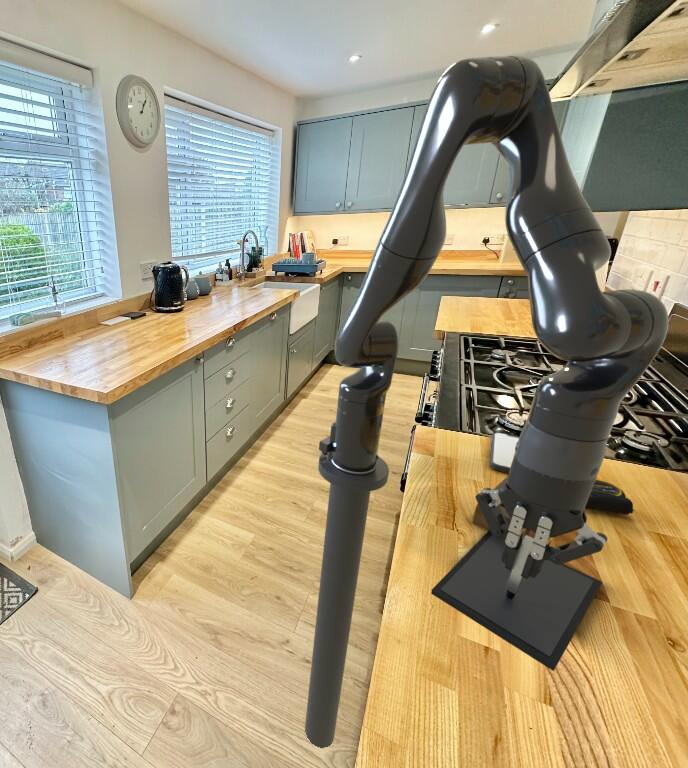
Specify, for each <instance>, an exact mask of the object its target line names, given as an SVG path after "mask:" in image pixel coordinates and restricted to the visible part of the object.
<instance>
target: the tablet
mask: <svg viewBox="0 0 688 768" xmlns="http://www.w3.org/2000/svg"><path fill="white" fill-rule="evenodd" d="M505 545H506V543H505V541H504V540H503V539H502V538H501V537H500V536H499V537H497V536H494V535H493V534H492V533H491V531H490V530H487V531H486V533H485V534H484V535H483V536H481V538H480V539H478V541H477V542H476V543H475V544H474V545H473V546H472V547H471V548H470V549H469V550H468V551H467V552H466V553H465V555H463V556H462V558H460V559H459V561H457V563H456V564H455V565H454V566H452V568H451V569H450V570H449V571H448V572H447V573H446V574H445V575H444V576H443V577H441V579H439V581H438V582H437V583H436V584H435V585H434V586H433V588H431V592H430V594H431V595H432V596H434V597H436V598H437V599H439V600H441V601H442V602H444V603H445V604H446V605H448V606H450V607H451V608H453V609H454V610H456V611H458V612H460V614H462V615H464V616H466V617H467V618H469V619H470V620H471V621H474V622H475V623H477V624H478V625H480V626H481V627H483V628H485V629H486V630H488V631H489V632H491V633H493V634H494V635H495V636H497V637H499V638H500V639H502V640H503V641H505V642H507V643H508V644H510V645H511V646H513V647H514V648H516V649H518V650H519V651H521V652H522V653H524V654H525V655H527V656H529V657H530V658H532V659H533V660H535V661H537V662H538V663H540V664H542V665H543V666H544V667H546V668H548V669H549V670H551V671H552V672H554V671H555V670H556V668H557V667H558V664H559V663H560V661H561V659H562V657H563V655H564V654H565V652H566V650H567V648H568V646H569V645H570V643H571V641H572V639H573V638H574V635H575V634H576V632H577V630H578V629H579V627H580V625H581V623H582V622H583V620H584V618H585V617H586V614H587V612H588V610H589V609H590V607H591V605H592V603H593V602H594V599H595V598H596V597H597V594H598V593H599V591H600V589H601V587H602V585H603V581H601V580H599V579H597V578H595V577H593V576H591V575H589V574H586V573H584V572H582V571H580V570H578V569H576V568H575V567H571V566H569V565H568V564H566V563H563V564H560V565H557V564H554V563H552V562H551V561H549V560H544V562H543V565H542V567H541V570H540V572H539V573H538V575H537V576H536V577H534V578H533V577H531V576H530V577H529V578H528V579H526V578H523V581H522V583H521V586H520V589H519V591H518V592H517V594H515V597H514V598H513V599H510V598H508V597H507V596H506V593H507V590H506V586H507V583H508V580H509V577H510V575H511V572H512V571H510V570H508V569H506V568H505V565H506V564H505V563H503V562H502V559H501V558H502V555H503V551H504V548H505Z"/></svg>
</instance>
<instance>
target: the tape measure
mask: <svg viewBox="0 0 688 768" xmlns="http://www.w3.org/2000/svg"><path fill="white" fill-rule="evenodd" d="M585 509H588V510H593V511H600V512H607V513H613V514H619V515H624V516H626V515H627V516H628V515H630V514H631V515H633V513H634V511H635V509H634V503H633V501H632V500H631V499H630V498H628V497H626V494H625V492H624V491H623V490H622V489H621V488H619V487H618V486H616V485H614V484H612V483H610V482H607V481H604V480H601V479H596V480H595V483H594V485H593V488H592V491H591V493H590V496H589V498H588V501H587V504H586V506H585Z"/></svg>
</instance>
